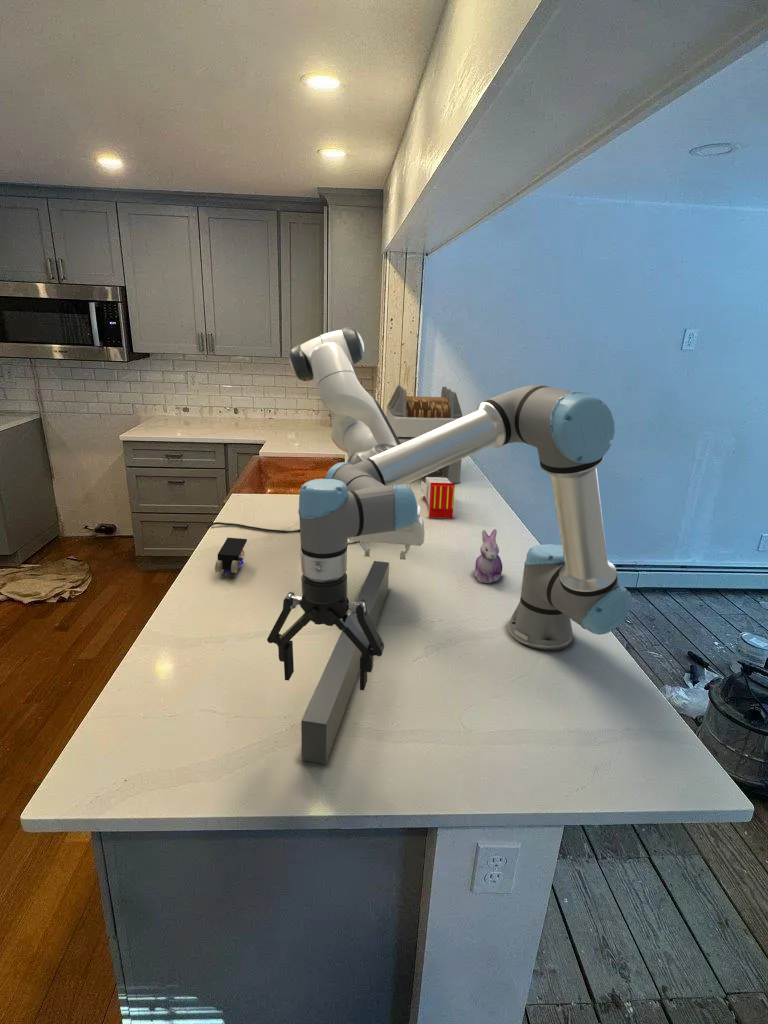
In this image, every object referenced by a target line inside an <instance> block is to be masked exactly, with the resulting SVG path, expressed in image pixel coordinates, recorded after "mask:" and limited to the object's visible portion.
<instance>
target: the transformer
mask: <svg viewBox="0 0 768 1024" xmlns="http://www.w3.org/2000/svg"><path fill="white" fill-rule="evenodd" d="M440 393H441V394H440V396H415V395H414V396H413V395H412V396H411V395H407V394H408V393H407V390H406V389H404V388H403V387H402V385H399V384H398V385H397V386H396V388H395V390H394V392H393V394H392V395H391V398H390V400H389V402H388V404H387V405H386V413H385V416H386V417H387V419H388V421H389V423H390V425H391V427H392V428H393V430H394V432H395V434H396V436H397V438H398V439H399V441H400V443H401V444H402V443H404V442H407V441H409V440H411V439H413V438H416V437H418V436H420V435H422V434H425V433H427V432H429V431H431V430H434V429H436V428H438V427H440V426H443V425H445V424H447V423H449V422H452V421H454V420H456V419H458V418H461V417H463V411H462V408H461V405H460V402H459V398H458V395H457V392H455V391H453V390H452V389H451V388H447V386H442V387H441V392H440ZM462 461H463V460H462V459H461V460H458V461H456V462H454V463H452V464H450V465H448V466H445V467H443V468H441V469H439V470H438V471H439V473H440V474H441V475H443V476H442V477H443V478H447V479H448V480H449V481H450V482H451V483H456V484H459V483H461V472H462Z"/></svg>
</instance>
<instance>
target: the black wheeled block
mask: <svg viewBox="0 0 768 1024" xmlns="http://www.w3.org/2000/svg"><path fill="white" fill-rule="evenodd" d="M247 542H248V538H240V537H226V539H225V541H224V543H223V544H222V546H221V547H220V549H219V551H218V552H217V560H216V562H215V564H214V572H215V573H221V577H222V578H224V577H225V576H226V574H227V573H230V574H231V573H232V574H231V578H234V577H235V575H236V573H237V572H239V571H240V567H242V566H243V565H244V564H245V562H244V558H245V551H244V547H245V546H246V544H247Z"/></svg>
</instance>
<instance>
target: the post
mask: <svg viewBox="0 0 768 1024" xmlns="http://www.w3.org/2000/svg"><path fill="white" fill-rule="evenodd" d="M389 577H390V562H388V561H386V562H385V561H379V560H373V562H372V565H371V566H370V569H369V571H368V573H367V575H366V578H365V580H364V582H363V584H362V586H361V588H360V591H359V593H358V595H357V597H356V599H355V602H359V601H360V600H361V599H364V600H365V601H366V606H367V612H368V614H369V616H370V618H371V620H372V622H373V624H374V626H375V627H376V624H377V622H378V619H379V617H380V614H381V612H382V609H383V605H384V602H385V599H386V596H387V594H388V591H389ZM349 616H350V617H351V620H352V621H353V623H354V624H355V625H356V626H357V627H358V628H359V630H360V631H361V632H362V633H363V634H364V632H363V630H362V628H361V626H360V624H359V622H358V619H357V616H354V614H353V612H352V611H351V610H350V612H349ZM364 635H365V634H364ZM365 637H366V636H365ZM366 638H367V637H366ZM361 655H362V653H361V651H360V650H359V649H358V648H357V647H356V646H355V645H354V643H353V642H352V641H351V640H350V639H349V638H348V636H347V635H346V634H345V633H344V632H343V631H342V630H341V632H340V635H339V637H338V639H337V640H336V643H335V646H334V648H333V650H332V652H331V655H330V656H329V660H328V661H327V663H326V666H325V667H324V670H323V672H322V674H321V677H320V678H319V681H318V683H317V685H316V688H315V690H314V691H313V694H312V696H311V698H310V701H309V703H308V704H307V707H306V710H305V711H304V714H303V716H302V718H301V720H300V721H301V723H300V724H301V726H300V727H301V728H300V729H301V730H300V731H301V734H300V735H301V737H300V738H301V739H300V740H301V761H303V762H310V763H315V764H320V765H321V764H322V765H327V762H328V760H329V757H330V754H331V751H332V749H333V746H334V743H335V740H336V738H337V734H338V732H339V729H340V726H341V724H342V720H343V718H344V715H345V712H346V709H347V706H348V704H349V701H350V698H351V695H352V692H353V689H354V687H355V684H356V681H357V678H358V675H359V674H360V657H361Z"/></svg>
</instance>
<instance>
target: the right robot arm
mask: <svg viewBox="0 0 768 1024" xmlns="http://www.w3.org/2000/svg"><path fill="white" fill-rule="evenodd" d="M615 423H616V422H615V417H614V415H613V413H612V410H611V408H610V407H609V406H608V404H606V403H605V402H604V401H603V400H601V399H600V398H598V397H595V396H592V395H591V394H589V393H585V392H581V391H570V390H566V389H561V388H557V387H552V386H548V385H543V384H532V385H531V384H530V385H526V386H521V387H518V388H515V389H512V390H509V391H506V392H503V393H501V394H497V395H496V396H493V397H491V398H488V399H487V400H484V401H481V402H480V403H478V404H477V406H476V408H475V410H474V411H472V412H470V413H468V414H465V415H462V417H461V418H458V419H456V420H454V421H452V422H449V423H447V424H445V425H443V426H440V427H438V428H436V429H434V430H431V431H429V432H427V433H425V434H422V435H420V436H418V437H416V438H413V439H411V440H409V441H407V442H404V443H402V444H400V445H398V446H395V447H393V448H391V449H389V450H386V451H384V452H382V453H380V454H377V455H375V456H373V457H371V458H368V459H366V460H364V461H361V462H359V463H356V464H352V463H348V461H342V462H337V463H335V464H334V465H332V466H331V467H330V468H329V470H328V471H327V472H326V474H325V478H315V479H310V480H308V481H306V482H304V483H303V484H302V485H301V486H300V489H299V496H298V511H297V513H298V516H299V517H298V518H299V529H300V532H299V533H300V534H299V535H300V570H301V571H300V572H301V577H300V578H301V596H299V595H296V594H295V592H293V591H289V592H287V595H286V596H285V598H284V599H283V602H282V610H281V611H280V614H279V615H278V618H277V620H276V621H275V623H274V625H273V627H272V629H271V631H270V633H269V634H268V636H267V638H266V641H267V643H268V644H275V645H277V648H278V649H277V650H278V660H279V662H281V663H282V662H283V670H284V674H283V675H284V681H288V682H289V681H290V680H291V678H292V676H293V674H294V671H295V669H294V645H293V644H294V643H293V640H292V639H293V638H294V637H295V636H296V635H297V634H298V633H299V632H300V631H301V630H302V629H303V628H304V627H306V626H307V625H308V624H309V623H311V622H312V623H314V625H325V626H328V627H333V626H336V628H337V629H338V630H340V631H341V632H342V631H343V632H344V633H345V634H346V635H347V636H348V638H349V639H350V640H351V641H352V642H353V643H354V645H355V646H356V647H357V648H358V649H359V650H360V651H361V653H362V655H361V657H360V670H359V691H364V692H365V690H366V686H367V683H368V673H369V674H370V673H372V670H373V667H374V657H375V656H376V657H381V656H382V655H383V652H384V649H385V643H384V641H383V640H382V638H381V636H380V633H379V632H378V629H377V627H376V625H375V626H374V624H373V622H372V620H371V618H370V616H369V614H368V612H367V606H366V601H365V600H364V599H361V600H360V601H359V602H356V601H350V600H349V597H348V574H347V572H348V543H347V539H348V538H349V537H356V536H361V535H368V534H375V533H382V532H389V531H393V532H394V531H396V530H399V529H404V528H408V527H411V526H412V525H413V524H414V522H415V521H416V518H417V505H418V501H417V497H416V495H415V492H414V491H413V489H412V488H411V487H410V486H409V485H408V484H410V483H413V482H415V481H417V480H419V479H421V478H423V477H427V476H428V475H430V474H432V473H435V472H437V471H439V469H441V468H443V467H445V466H448V465H450V464H452V463H454V462H456V461H458V460H461V459H464V458H467V457H469V456H471V455H473V454H476V453H478V452H479V451H482V450H484V449H486V448H489V447H490V446H491V447H493V448H500V447H503V446H505V445H507V444H513V443H522V444H526V445H529V446H532V447H535V448H536V450H537V455H538V459H539V460H538V461H539V465H540V468H541V470H542V471H543V472H545V473H547V474H549V475H550V477H549V478H550V483H551V488H552V494H553V501H554V506H555V513H556V518H557V526H558V531H559V539H560V544H550V543H548V544H537V545H535V546H532V547H531V548H529V549H528V550H527V553H526V558H525V561H524V566H523V574H522V580H521V581H522V584H521V591H520V599H519V603H518V604H517V606H516V607H515V610H514V612H513V613H512V615H511V617H510V620H509V623H508V632H509V634H510V635H511V637H512V638H513V639H514V640H515V641H517V642H519V643H520V644H521V645H524V646H525V647H529V648H533V649H536V650H540V651H557V650H562V649H565V648H567V647H569V646H570V644H571V643H572V640H573V628H572V621H573V622H574V623H576V624H577V625H579V626H580V627H581V628H582V629H583V630H587V631H589V632H590V633H592V634H594V635H606V634H608V633H610V632H612V631H614V630H615V629H616V628H618V627H619V626H620V625H621V624H622V623H623V622H624V620H625V619H626V617H627V616H628V614H629V612H630V611H631V608H632V602H633V597H632V595H631V592H630V591H629V590H627V588H625V587H624V586H621V585H620V584H619V581H618V580H619V579H618V572H617V568H616V566H615V565H614V564H613V563H612V562H611V561H609V560H608V554H607V545H606V544H607V543H606V536H605V526H604V519H603V512H602V503H601V493H600V486H599V485H600V484H599V478H598V476H599V475H598V470H597V467H599V465H601V464H602V463H603V461H604V457H605V455H606V454H607V453H608V451H609V450H610V449H611V446H612V443H611V441H613V440H614V438H615V434H616V433H615V432H616V424H615ZM298 605H299V606H300V608H301V609H302V611H303V612H304V613H303V614H302V615H301V616H300V617H299V618H298V619H297V620H296V621H295V622H294V623H292V625H291V626H290V627H289V628H288V629H286V630H285V632H283V634H281V633H280V632H281V630H282V628H283V627H284V625H285V623H286V622H287V619H288V617H289V616H290V614H291V611H292V610H295V609H296V608H297V606H298ZM349 611H350V612H351V611H352V612H353V614H354V616H357V619H358V622H359V624H360V626H361V628H362V630H363V632H364V634H365V635H364V634H363V633H362V632H361V631H360V630H359V628H358V627H357V626H356V625H355V624H354V623H353V621H352V620H351V617H350V616H349V615H350V613H349ZM571 620H572V621H571ZM365 636H366V637H367V638H366V637H365Z"/></svg>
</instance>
